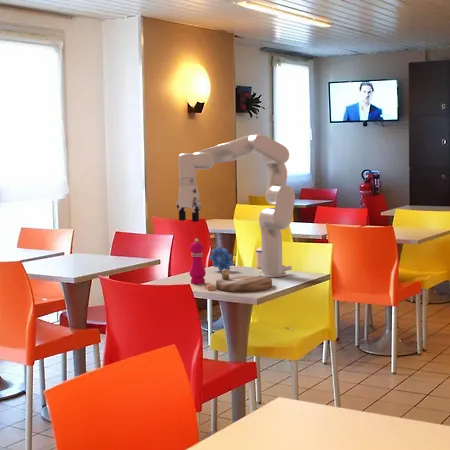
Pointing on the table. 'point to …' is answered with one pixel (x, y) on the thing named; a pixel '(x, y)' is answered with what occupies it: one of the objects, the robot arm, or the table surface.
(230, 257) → the blue lumpy piece
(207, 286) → the block
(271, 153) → the robot arm
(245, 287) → the disc
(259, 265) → the teacup with lid
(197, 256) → the pepper mill
